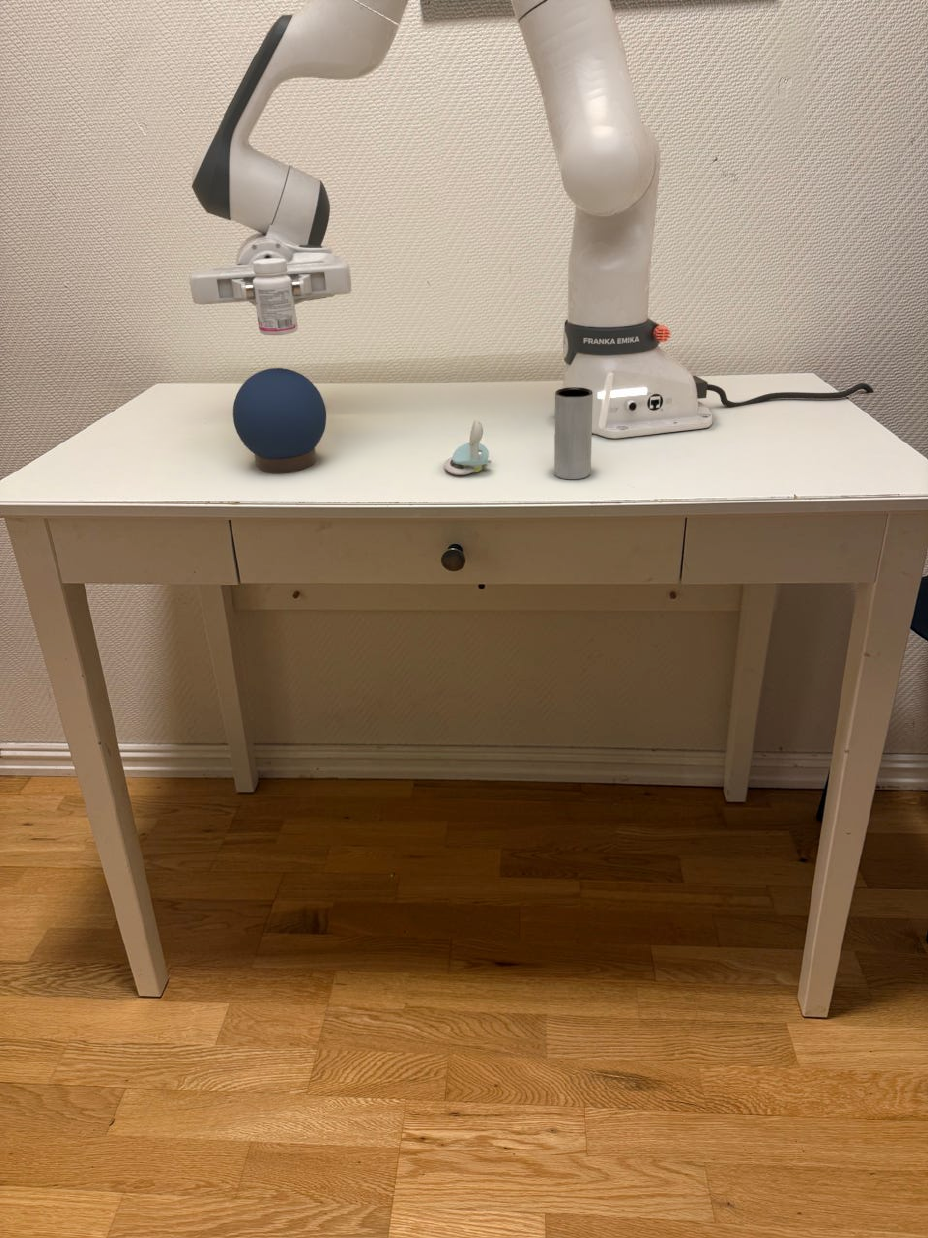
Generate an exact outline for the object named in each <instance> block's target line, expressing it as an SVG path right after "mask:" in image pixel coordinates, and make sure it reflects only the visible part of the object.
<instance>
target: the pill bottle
mask: <svg viewBox="0 0 928 1238" xmlns="http://www.w3.org/2000/svg"><path fill="white" fill-rule="evenodd" d="M253 269H254V272H255V273H254V274H255V275H257V277H256V278H255V279H254V280H253V287H254V295H255V303H256V306H255V309H256V316H257V323H258V330H259V332H260V334H262V335H265V336H283V335H289V334H292V333H295V332H296V331H298V321H297V313H296V304H295V305H294V297H293V288H292V281H291V278H290V277H289V276H287V275H286V273H287V265H286V260H285V259H281V258H270V259H261V260H256V261H253Z"/></svg>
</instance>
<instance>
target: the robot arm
mask: <svg viewBox="0 0 928 1238" xmlns="http://www.w3.org/2000/svg"><path fill="white" fill-rule="evenodd" d="M409 2H410V0H307V1H306V2H305V4H304V5H302V6H301V8H300V9H298V10H297V11H296V12H295V13H294V14H282V15H281V16H280V17H278V18H277V20H275V22H274V23H273V25H272V26H270V29H269V30H268V31H267V33H266V34H265V37H264V39H263V41H262V42H261V44H260V45H259V49H258V50H257V52H256V53H255V54H254V55H253V58H252V59H251V61H250V62H249V63H250V64H249V65H248V67H247V70H246V72H245V73H244V75H243V77H242V78H241V81H240V83H239V86H238V87H237V89H236V91H235V93H234V95H233V98H231V101H230V102H229V104H228V106H227V108H226V111H225V112H224V115H223V118H222V120H221V122H220V124H219V125H218V128H217V130H216V131H215V132H214V133H213V135H212V136H211V137H210V139H209V140H208V141H207V142H206V144H205V145H204V146H203V148H202V149H201V151H200V153H199V154H198V156H197V158H196V160H195V164H194V167H193V171H192V175H191V176H192V177H191V179H192V180H191V181H192V184H191V189H192V190H193V193H194V195H195V197H196V198H197V201H198V203H200V205H201V207H202V208H203V209H204V211H205V212H206V214H210V215H213V216H215V217H218V218H221V219H224V220H227V221H232V222H235V223H238V224H241V225H242V226H245V227H247V228H249V229H251V230H253V231H255V233H252V235H250V236H248V237H246V239H245V240H244V241H243V242H242V244H241V245H240V246H239V248H238V251H237V253H236V257H235V258H236V259H235V265H222V266H209V267H202V268H199V269H195V270H194V271H192V272H191V273H190V274H189V278H188V279H189V287H190V292H191V297H192V301H193V303H194V304H195V305H215V304H229V303H243V302H249V303H250V304H251V305H253V306H254V307H256V303H255V295H254V287H253V280H254V279H255V278H256V277H257V275H255V274H254V273H255V272H254V269H253V261H256V260H261V259H270V258H281V259H285V260H286V265H287V273H286V275H287V276H289V277H290V278H291V281H292V288H293V297H294V305H295V306H296V305H298V304H300V303H304V302H308V301H309V302H310V301H314V300H321V299H326V298H327V299H328V298H333V297H335V296H336V295H348V294H351V292H352V280H351V279H352V277H351V270H350V269H351V268H350V265H349V262H348V261H347V259H345V258H343V257H342V256H341V255H339V254H337V253H333V250H332V247H330V246H329V245H322V244H323V242H324V238H325V235H326V233H327V229H328V225H329V221H330V216H331V215H330V213H331V203H330V199H329V195H328V192H327V189H326V187H325V185H324V183H323V181H322V180H321V179H319V178H317V177H315V176H312V175H311V174H309V173H306V172H305V171H302V170H300V169H298V168H295V167H294V166H292V165H288V164H286V163H284V162H282V161H280V160H278V159H276V158H274V157H272V156H270V155H267V154H266V153H263V152H262V151H259V150H257V149H255V148H254V147H253V146H252V145H251V144H250V137H251V135H252V133H253V131H254V129H255V128H256V125H257V124H258V122H259V120H260V118H261V116H262V114H263V112H264V110H265V109H266V107H267V105H268V103H269V101H270V99H271V97H272V96H273V94H274V92H275V91H276V89H277V88H278V87H279V86H280V85H281V84H283V83H285V82H287V81H290V80H292V79H299V78H311V79H312V78H313V79H322V80H323V79H324V80H335V81H350V80H357V79H361V78H364V77H366V76H369V75H370V74H372V73H374V72H375V71H376V70H378V69H379V68H380V67H381V66H382V65H383V63H384V61H385V59H386V58H387V56H388V53H389V52H390V50H391V48H392V45H393V44H394V42H395V39H396V36H397V33H398V31H399V28H400V25H401V23H402V20H403V18H404V15H405V12H406V9H407V7H408V4H409ZM510 3H511V6H512V10H513V12H514V16H515V19H516V21H517V24H518V28H519V30H520V33H521V36H522V39H523V43H524V45H525V49H526V51H527V54H528V57H529V60H530V63H531V66H532V69H533V73H534V75H535V78H536V80H537V84H538V88H539V90H540V94H541V98H542V102H543V107H544V112H545V116H546V120H547V125H548V129H549V134H550V138H551V139H550V140H551V142H552V143H551V144H552V147H553V150H554V154H555V158H556V162H557V166H558V169H559V172H560V176H561V182H562V185H563V189H564V191H565V193H566V195H567V197H568V198H569V199H570V201H571V203H573V205H574V206H575V207H574V208H575V209H574V210H575V211H574V218H573V228H572V237H571V245H570V250H569V251H570V252H569V256H568V262H567V263H568V265H567V267H568V269H567V271H568V272H567V273H568V274H567V318H566V319H565V321H564V328H563V331H562V332H563V334H562V335H563V336H562V350H563V351H562V353H563V354H562V357H563V361H564V364H565V365H564V374H563V381H562V388H569V387H580V388H587V389H590V390H591V391H592V392H593V406H592V434H594V435H598V436H601V437H605V438H608V439H623V438H631V437H633V438H634V437H641V436H649V435H657V434H665V433H666V434H667V433H674V432H682V431H683V432H684V431H691V430H692V431H693V430H701V429H707V428H709V427H711V426H712V424H713V413H712V412H711V410H710V408H709V407H708V406H707V405H706V404H704V403H703V402H701V401H699V400H700V399H706V398H707V395H708V391H711V392H714V393H716V394H717V395H719V398H720V402H721V404H723V406H725V407H727V408H738V407H744V406H749V405H754V404H755V405H756V404H758V403H762V402H766V401H770V400H777V399H778V400H779V399H806V400H807V399H808V400H809V399H810V400H835V399H841V398H846V397H848V396H851V395H852V394H855V393H856V392H858V391H860V390H864V391H865V392H866V393H869V394H874V393H875V390H874V389H873V388H872V386H871V385H869V383H866V382H860V383H857V384H855V385H853V386H851V387H850V388H848V389H846V390H843V391H835V392H804V391H800V392H799V391H784V392H781V391H780V392H770V393H766V394H762V395H759V396H756V397H754V398H751V399H748V400H745V401H741V402H734V401H731V400H728V397H727V393H726V391H725V390H724V389H723V388H722V387H720V386H719V385H715V384H710V383H708V381H706V380H704V379H703V378H701V377H699V376H697V375H693V374H692V373H691V372H690V371H689V369H687V368H686V367H685V366H684V365H683V364H682V363H681V362H679V361H678V360H677V359H675V357H674V356H672V355H671V354H669V352H668V351H666V350H665V349H664V348H663V347H661V346H660V345H659V344H661V343H666V342H668V341H669V339H670V338H671V335H672V334H671V330H670V329H669V328H668V327H667V326H666V325H664V324H660V323H657V322H656V321H654V320H652V319H650V318H649V317H648V314H649V299H650V298H649V297H650V283H651V282H650V281H651V265H652V263H651V262H652V251H653V243H654V234H655V227H656V226H655V224H656V216H657V204H658V195H659V184H660V173H661V171H660V170H661V150H660V149H661V148H660V145H659V142H658V139H657V138H656V136H655V134H654V132H653V131H652V129H650V128H649V126H647V125H646V124H645V123H644V122H643V121H642V119H641V115H640V110H639V108H638V104H637V99H636V95H635V92H634V87H633V83H632V79H631V74H630V71H629V66H628V60H627V56H626V55H627V54H626V49H625V46H624V43H623V39H622V36H621V33H620V29H619V27H618V23H617V19H616V17H615V12H614V10H613V7H612V3H611V0H510ZM562 388H561V389H562Z"/></svg>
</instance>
